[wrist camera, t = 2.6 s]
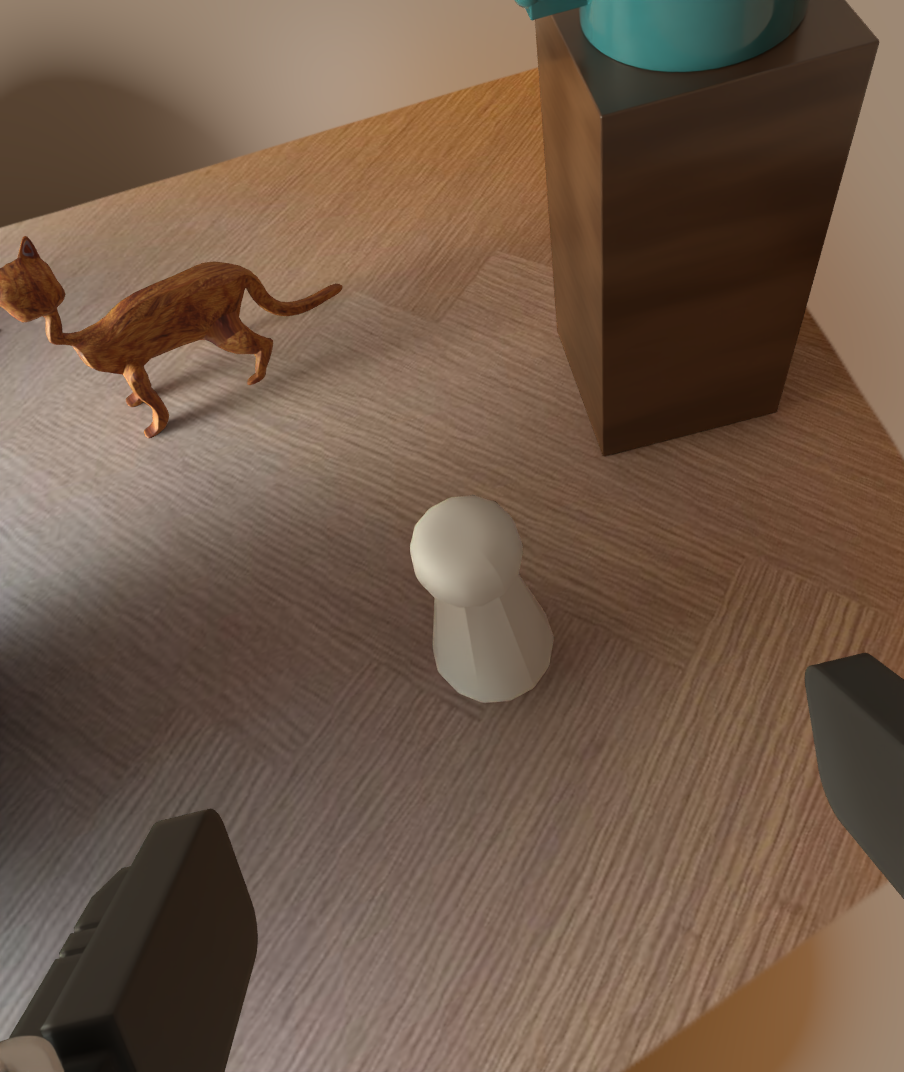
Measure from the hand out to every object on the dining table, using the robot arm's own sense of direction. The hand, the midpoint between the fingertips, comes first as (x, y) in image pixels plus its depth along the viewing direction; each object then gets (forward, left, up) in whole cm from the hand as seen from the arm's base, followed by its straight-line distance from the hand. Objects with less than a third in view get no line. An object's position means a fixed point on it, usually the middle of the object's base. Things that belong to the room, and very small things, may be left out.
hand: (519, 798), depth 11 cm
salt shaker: (+7, -12, -29) cm, 32 cm away
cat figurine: (+30, -27, -29) cm, 50 cm away
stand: (+3, -32, -29) cm, 43 cm away
